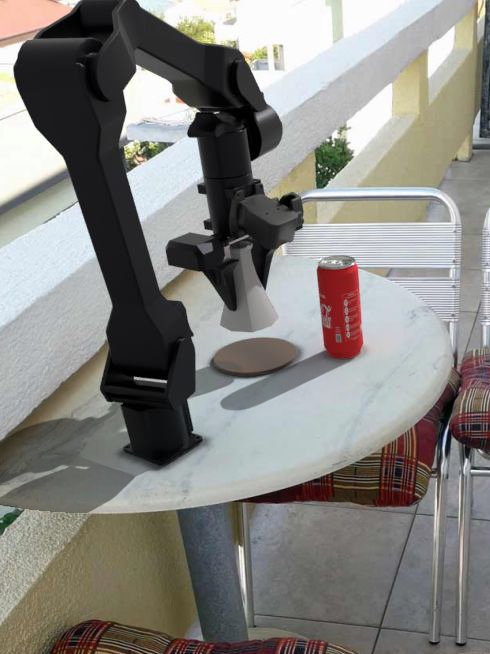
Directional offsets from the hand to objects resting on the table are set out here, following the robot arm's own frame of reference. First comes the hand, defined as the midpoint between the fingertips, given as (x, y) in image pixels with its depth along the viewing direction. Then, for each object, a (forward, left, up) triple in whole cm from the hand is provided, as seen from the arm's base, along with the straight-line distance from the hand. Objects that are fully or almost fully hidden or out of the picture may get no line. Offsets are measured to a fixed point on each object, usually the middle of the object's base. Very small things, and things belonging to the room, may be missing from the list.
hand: (246, 303), depth 109 cm
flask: (0, 0, -3) cm, 3 cm away
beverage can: (+7, -9, -8) cm, 14 cm away
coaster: (0, 0, -8) cm, 8 cm away
